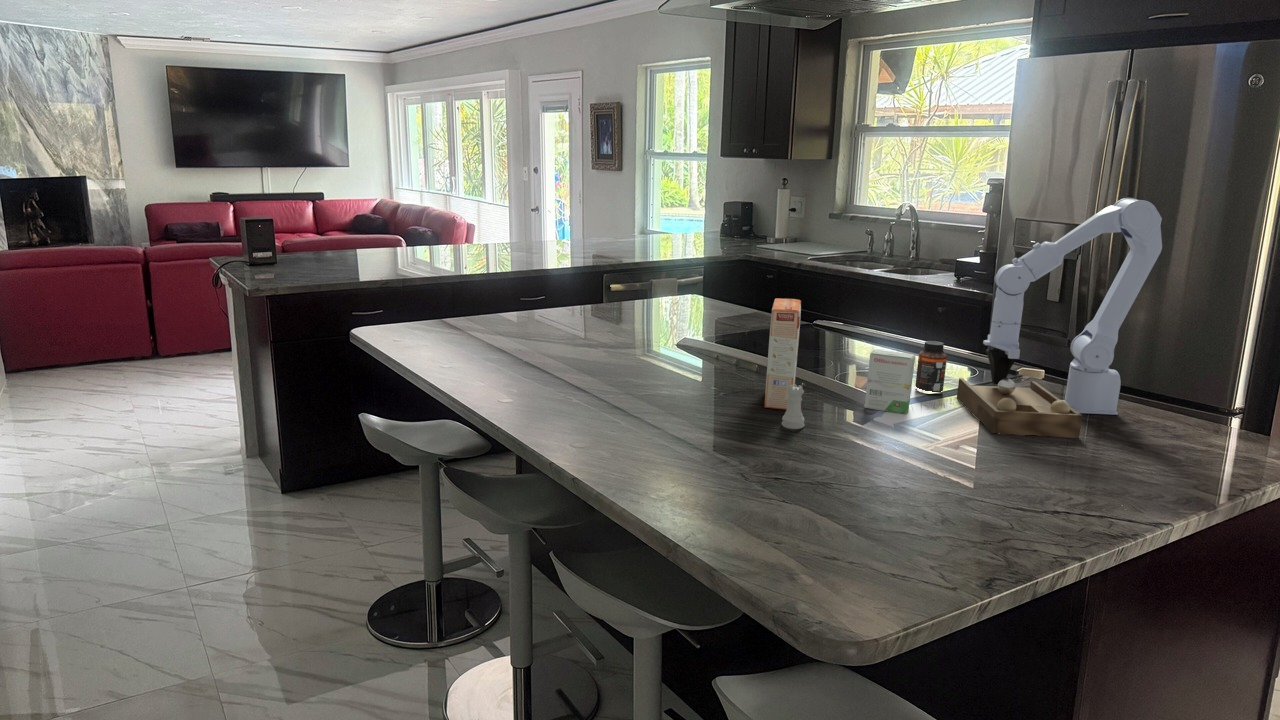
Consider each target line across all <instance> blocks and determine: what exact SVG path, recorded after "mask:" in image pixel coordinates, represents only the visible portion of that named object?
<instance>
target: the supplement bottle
mask: <svg viewBox="0 0 1280 720" xmlns="http://www.w3.org/2000/svg"><path fill="white" fill-rule="evenodd" d="M944 344H945V343H944V342H941V341H938V340H937V341H936V340H927V341H924V346H923V347H924V349H923V350H920V352H919V353H918V358H917V359H918V360H917V365H916V366H917V368H916V376H915V385H914V387H915V386H916V387H917V388H919V389H922V390H925V391H932V392H941V391H943V392H944V386H945V377H946V368H947V359H948V356H947V354H946V352H945V351H944V349H945V348H944V346H945V345H944Z"/></svg>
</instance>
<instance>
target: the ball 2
mask: <svg viewBox="0 0 1280 720" xmlns="http://www.w3.org/2000/svg"><path fill="white" fill-rule="evenodd" d="M1063 400H1064V399H1060V400H1057V401H1055V402H1053V403H1052V404H1051V407H1050V411H1051V413H1066V414H1069V412H1070V407H1069V405H1068V403H1067V402H1065V401H1063Z"/></svg>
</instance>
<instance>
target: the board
mask: <svg viewBox="0 0 1280 720" xmlns="http://www.w3.org/2000/svg"><path fill="white" fill-rule="evenodd" d="M1003 398H1010V399H1012V400H1014V402H1015V403H1016V410H1015V411H1000V410H998V409H997V404H998V402H999V401H1000V400H1001V399H1003ZM956 399H957V400H958V399H959V400H960V401H961V402H962V403H963V404H964V405H965V406H966V407H965V406H964V405H963V404H962V403H961V402H960V401H959V402H960V403H961V404H962V405H963V406H964V407H965V408H966V409H967V408H968V409H967V410H968V411H969V410H970V411H969V412H970V413H971V414H972V413H973V414H974V415H975V416H976V417H977V418H978V419H979V420H980V421H981V422H982V423H983V424H984V425H985V426H986V427H987V428H988V429H989V430H990V431H991V432H992V433H1000V434H999V435H1004V434H1014V435H1013V436H1025V435H1037V436H1036V437H1046V436H1050V437H1049V438H1069V439H1070V438H1071V439H1080V434H1081V427H1082V422H1083V415H1082V413H1078V412H1077V411H1076V410H1074V409H1073V408H1071V407H1070V406H1069V407H1070V412H1069V414H1066V413H1051V411H1050V407H1051V404H1052V403H1053V402H1055V401H1057V400H1061V399H1060V398H1059V397H1058V396H1056V395H1055V394H1053V393H1052V392H1050V391H1049V390H1048V389H1046V388H1045V387H1043V386H1042V385H1041V384H1039V383H1038V382H1037V381H1034V380H1033V381H1032V380H1030V387H1019V386H1017V387H1016V386H1015V390H1014V392H1013V393H1011V394H1008V395H1005V394H1002V393H1001V392H1000V391H999V390H998V385H997V386H993V385H990V386H989V385H971V384H970V383H969V382H967V380H965V378H964V377H961V378H958V384H957V392H956ZM973 414H972V415H973ZM974 415H973V416H974ZM975 416H974V417H975ZM976 417H975V418H976ZM977 418H976V419H977ZM978 419H977V420H978ZM979 420H978V421H979ZM980 421H979V422H980ZM981 422H980V423H981ZM982 423H981V424H982ZM983 424H982V425H983ZM984 425H983V426H984ZM985 426H984V427H985ZM986 427H985V428H986ZM987 428H986V429H987ZM988 429H987V430H988ZM989 430H988V431H989ZM990 431H989V432H990ZM991 432H990V433H991ZM992 433H991V434H992ZM1015 434H1017V435H1015Z"/></svg>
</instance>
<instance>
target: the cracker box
mask: <svg viewBox="0 0 1280 720" xmlns="http://www.w3.org/2000/svg"><path fill="white" fill-rule="evenodd" d="M801 311H802V300H800V299H796V298H778V297H777V298H775V299H774V301H773V304H772V308H771V316H770V328H769V339H768V350H767V351H768V353H767V354H768V355H767V363H766V366H767V367H766V376H765V377H766V378H765V394H764V408H765V409H766V408H768V409H773V410H774V409H775V410H785V411H786V410H787V406H788V397H789V394H788V392H787V390H788V388H789V386H790V385H793V387H794V385H796V375H797V364H798V354H799V353H798V352H799V351H798V350H799V344H800V343H799V342H800V331H801V330H800V329H801V328H800V327H801V317H802V316H801V313H802V312H801Z"/></svg>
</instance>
